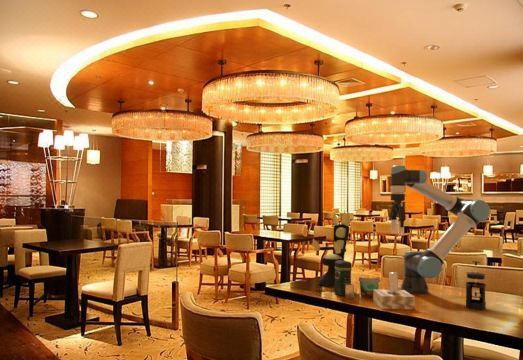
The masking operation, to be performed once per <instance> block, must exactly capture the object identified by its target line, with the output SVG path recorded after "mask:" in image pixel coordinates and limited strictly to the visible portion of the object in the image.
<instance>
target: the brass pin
mask: <svg viewBox="0 0 523 360" xmlns="http://www.w3.org/2000/svg"><path fill="white" fill-rule="evenodd" d="M344 297H345V299H348V300H354V299H355V285H354V284H353V283H351V284H346V289H345V296H344Z"/></svg>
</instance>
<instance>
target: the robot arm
mask: <svg viewBox="0 0 523 360" xmlns="http://www.w3.org/2000/svg"><path fill="white" fill-rule="evenodd" d="M427 173H428V172H427V171H426V170H424V169H407V168H406V166H405V165H401V164H399V165H392V166H391V168H390V188H389V189H390V193H391V194H390V201H392V202H391V208H390V215H389V219H390V232H394V233H395V232H397V220H398V234H401V235H403V234H405V221H406V219H407V218H406V210H405V203H404V201H406V195H405V193H406V186H407V187H408V188H410V189H412V190H413V191H416V192H418V193H419V194H422V195H423V196H425V197H426V198H428V199H430V200H431V201H433V202H435V203H437V204H439V205H441V206H442V207H444V208H445V210H446V211H448V212H450V213H451V214H453V215H455V216H456V217H457V218H455V220H454V221H453V223H451V224H450V226H449V227H448V228H447V229H446V230H445V231H444V233H442V235H441V236H440V237H439V238H438V239H437V241H436V242H435V243H434V244H433V245H432V246H431V247H430V248H426V249H425V250H424V251H417V250H416V251H414V250H413V251H412V250H411V251H408V250H407V251H405V252H404V257H403V259H404V261H403V263H404V264H403V266H404V267H403V271H404V272H403V273H404V274H403V279H402V283H401V285H400V290H405V291H406V292H408V293H409V294H416V295H417V294H418V295H419V294H420V295H423V294H428V293H429V287H428V283H427V280H426V279H435V278H436V277H439V275H440V274H441V272H442V270H443V269H442V267H443V265H444V264H445V260H444V259H446V257H447V255H449V253H451V251H452V250H453V248H455V246H456V245H457V244H458V243H459V242H460V241H461V240H462V239H463V237H464V236H466V234H467V233H468V232H469V230H471V228H476V227H477V226H478V224H479V223H480V222H484V221H486V220H487V219H488V218H489V216H490V213H491V211H490V210H491V209H490V206H489V204H488V202H486V201H485V200H484V199H483V200H482V199H479V198H476V199H470V198H469V199H466V198H461V197H458V196H457V195H451V194H449V193H447V192H446V191H444V190H442V189H441V188H438V187H436V186H435V185H433V184H432V183H429V182H428V181H427V180H428V174H427ZM397 216H398V218H397Z"/></svg>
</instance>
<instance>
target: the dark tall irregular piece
mask: <svg viewBox="0 0 523 360" xmlns="http://www.w3.org/2000/svg"><path fill="white" fill-rule="evenodd" d="M339 220H340V219H339V218H338V216H337V215H336V212H335V211H334V212H333V215H332V224H333V225H334V226H333V245H332V246H321V245H320V244H319V242H318V241H317V240H315V239H314V238H312V244H311V245H312V247H313V251H314V252H315V251H318V252H319V251H332V253H330V254H326V255H325V256H324V257H322V259H321V264H322V265H323V266H324V267H325V266H326V267H327V271H326V272H325V273H324V274H323V275H321V277H319V279H318V284H319V285H320V286H323V287H328V288H329V287H331V288H334V285H335V262H336V261H337V260H344V261H345V256H346V255H345V253H346V252H347V248H346V247H347V242H348V238H349V233H350V227H349V226H350V224H352V222H351V218H350V213H349V211H347V213H346V210H344V212H343V214H342V216H341V222H340V221H339ZM340 223H341V224H340Z"/></svg>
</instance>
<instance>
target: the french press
mask: <svg viewBox="0 0 523 360" xmlns="http://www.w3.org/2000/svg"><path fill="white" fill-rule="evenodd" d="M471 263H474V265H475V266H478V264H481V263H482V262H481V261H477V260H472V261H471ZM465 274H466V278H467V279H471V280H475V281H466V282H465V298H466V299H465V308H466V309H468V308H469V310H473V309H475V310H474V311H485V309H486V310H487V306H486V305H487V302H486V288H487V285H486V283H484V282H478V281H477V280H485V278H486V276H487V275H486V273H483V272H477V271H473V272H472V271H470V272H466V273H465ZM474 288H475V291H474V292H473V289H474ZM477 289H478V291H479V293H477ZM473 298H477V299H473Z"/></svg>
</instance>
